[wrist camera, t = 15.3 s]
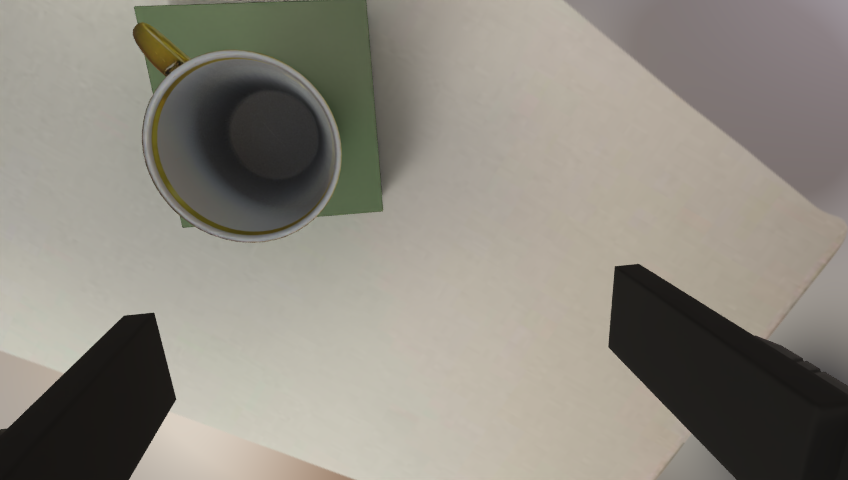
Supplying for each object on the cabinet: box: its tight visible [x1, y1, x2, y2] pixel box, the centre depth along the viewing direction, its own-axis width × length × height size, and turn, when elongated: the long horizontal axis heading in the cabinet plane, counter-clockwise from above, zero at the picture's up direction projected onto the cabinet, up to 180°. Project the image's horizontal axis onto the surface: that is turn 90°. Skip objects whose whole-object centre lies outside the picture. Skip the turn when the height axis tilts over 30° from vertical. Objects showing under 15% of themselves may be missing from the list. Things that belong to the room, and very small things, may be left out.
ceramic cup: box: [133, 22, 342, 243], centre depth 29 cm, size 13×10×10 cm
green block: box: [134, 0, 383, 228], centre depth 36 cm, size 15×15×5 cm
